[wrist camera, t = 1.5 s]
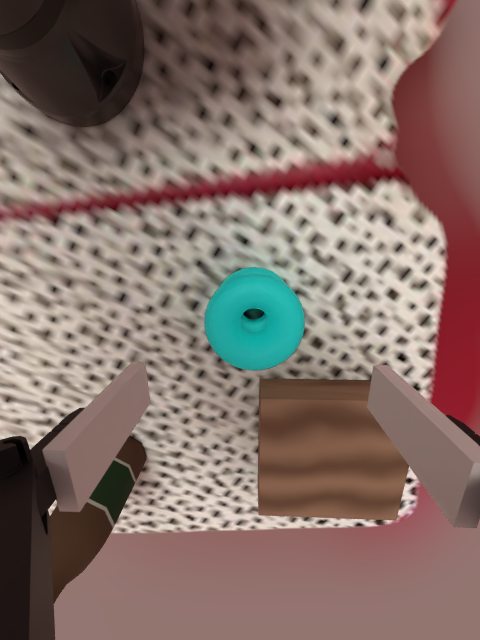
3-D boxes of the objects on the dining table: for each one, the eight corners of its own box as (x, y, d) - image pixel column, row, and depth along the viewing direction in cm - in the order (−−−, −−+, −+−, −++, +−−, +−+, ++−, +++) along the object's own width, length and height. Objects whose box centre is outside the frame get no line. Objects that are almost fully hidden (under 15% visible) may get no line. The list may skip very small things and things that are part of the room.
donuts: (247, 251, 22) (330, 322, 23) (248, 249, 31) (307, 299, 33) (181, 334, 24) (260, 393, 26) (201, 309, 34) (257, 353, 35)
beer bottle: (100, 465, 42) (-77, 726, 19) (102, 428, 40) (-97, 673, 17) (146, 474, 43) (23, 743, 20) (150, 437, 40) (16, 692, 17)
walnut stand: (259, 378, 36) (260, 398, 32) (400, 380, 36) (424, 401, 31) (257, 484, 42) (258, 515, 37) (379, 488, 41) (396, 520, 36)
